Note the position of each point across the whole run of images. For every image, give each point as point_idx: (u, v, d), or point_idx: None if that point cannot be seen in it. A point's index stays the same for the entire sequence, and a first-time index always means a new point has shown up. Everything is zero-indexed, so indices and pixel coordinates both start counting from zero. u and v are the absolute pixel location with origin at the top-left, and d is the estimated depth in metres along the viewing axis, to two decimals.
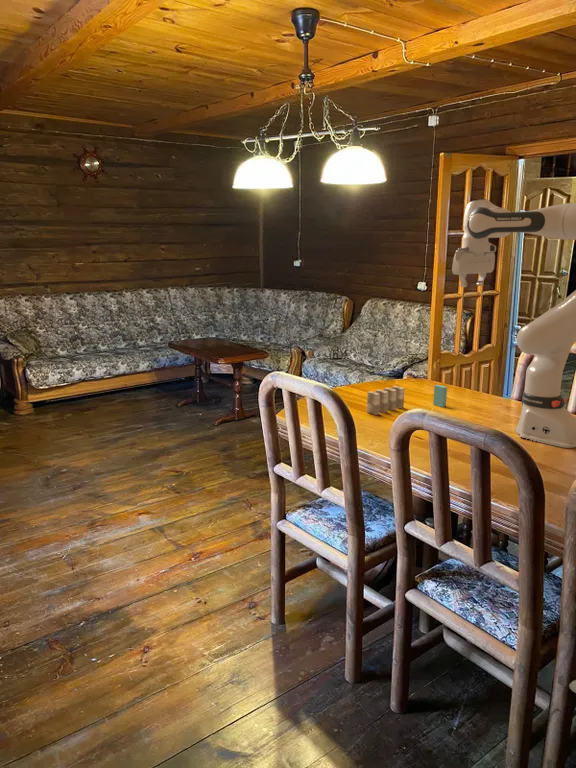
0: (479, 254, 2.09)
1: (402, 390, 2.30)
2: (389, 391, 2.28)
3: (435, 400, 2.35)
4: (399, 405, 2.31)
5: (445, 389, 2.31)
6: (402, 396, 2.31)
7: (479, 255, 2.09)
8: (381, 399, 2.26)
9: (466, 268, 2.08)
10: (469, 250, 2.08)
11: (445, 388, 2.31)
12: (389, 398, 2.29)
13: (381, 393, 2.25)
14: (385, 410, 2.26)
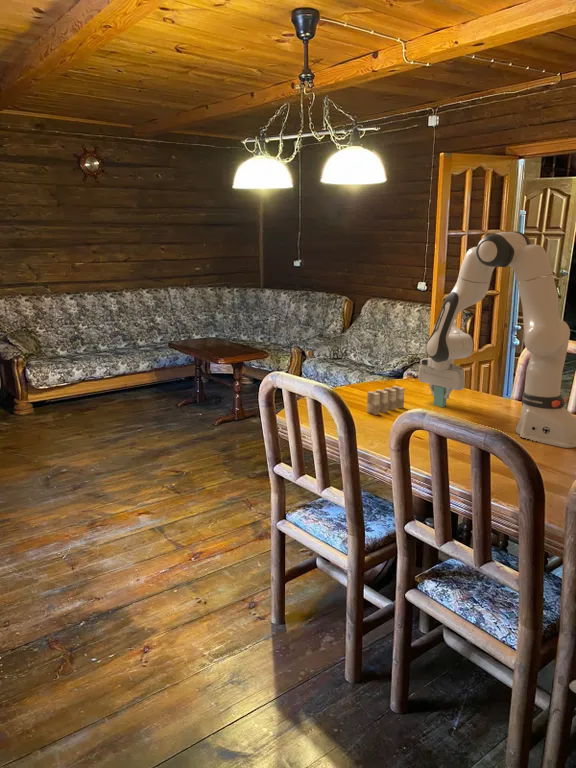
0: None
1: (402, 390, 2.30)
2: (389, 391, 2.28)
3: (435, 400, 2.35)
4: (399, 405, 2.31)
5: (445, 389, 2.31)
6: (402, 396, 2.31)
7: None
8: (381, 399, 2.26)
9: None
10: None
11: (445, 388, 2.31)
12: (389, 398, 2.29)
13: (381, 393, 2.25)
14: (385, 410, 2.26)
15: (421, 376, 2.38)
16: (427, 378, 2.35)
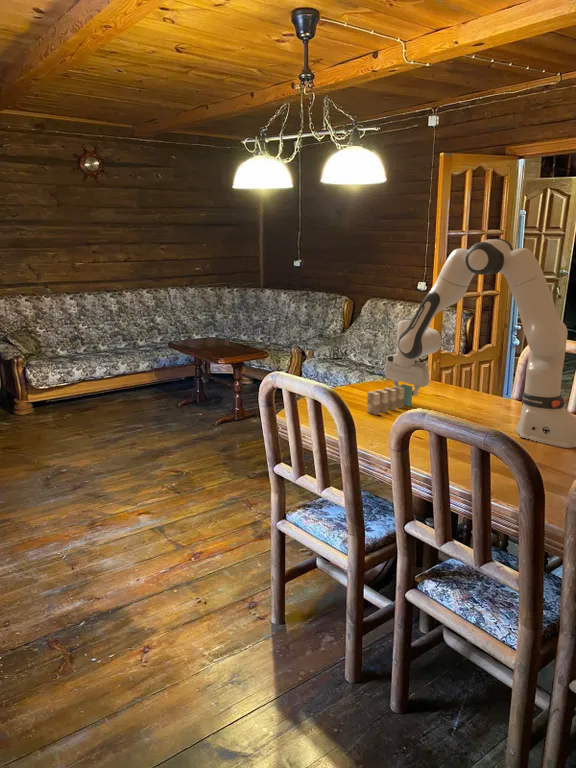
0: None
1: (402, 390, 2.30)
2: (389, 391, 2.28)
3: None
4: (399, 405, 2.31)
5: (410, 388, 2.33)
6: (402, 396, 2.31)
7: None
8: (381, 399, 2.26)
9: None
10: None
11: (410, 387, 2.32)
12: (389, 398, 2.29)
13: (381, 393, 2.25)
14: (385, 410, 2.26)
15: (388, 372, 2.38)
16: (393, 375, 2.36)
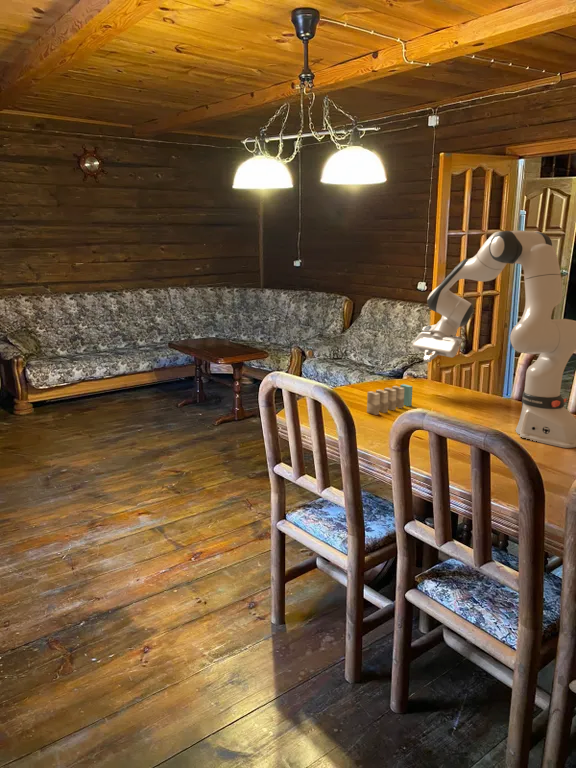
0: None
1: (402, 390, 2.30)
2: (389, 391, 2.28)
3: None
4: (399, 405, 2.31)
5: (410, 388, 2.33)
6: (402, 396, 2.31)
7: None
8: (381, 399, 2.26)
9: None
10: None
11: (410, 387, 2.32)
12: (389, 398, 2.29)
13: (381, 393, 2.25)
14: (385, 410, 2.26)
15: (417, 341, 2.46)
16: (422, 343, 2.43)
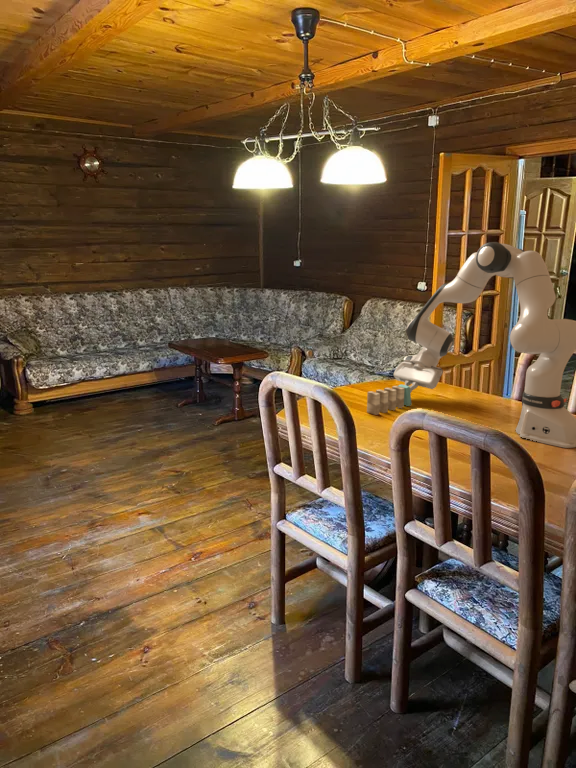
0: None
1: (402, 390, 2.30)
2: (389, 391, 2.28)
3: None
4: (399, 405, 2.31)
5: (408, 389, 2.32)
6: (402, 396, 2.31)
7: None
8: (381, 399, 2.26)
9: None
10: None
11: (408, 388, 2.32)
12: (389, 398, 2.29)
13: (381, 393, 2.25)
14: (385, 410, 2.26)
15: (398, 371, 2.42)
16: (403, 373, 2.40)
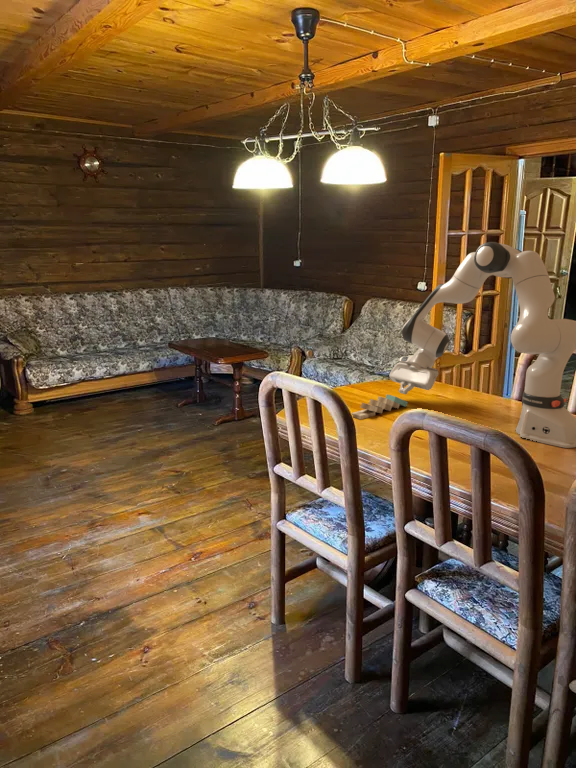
0: None
1: (387, 401, 2.26)
2: (375, 405, 2.24)
3: None
4: (395, 407, 2.30)
5: (396, 399, 2.29)
6: (391, 403, 2.28)
7: None
8: None
9: None
10: None
11: (395, 399, 2.29)
12: None
13: (367, 409, 2.21)
14: (381, 411, 2.24)
15: (394, 372, 2.40)
16: (398, 374, 2.38)
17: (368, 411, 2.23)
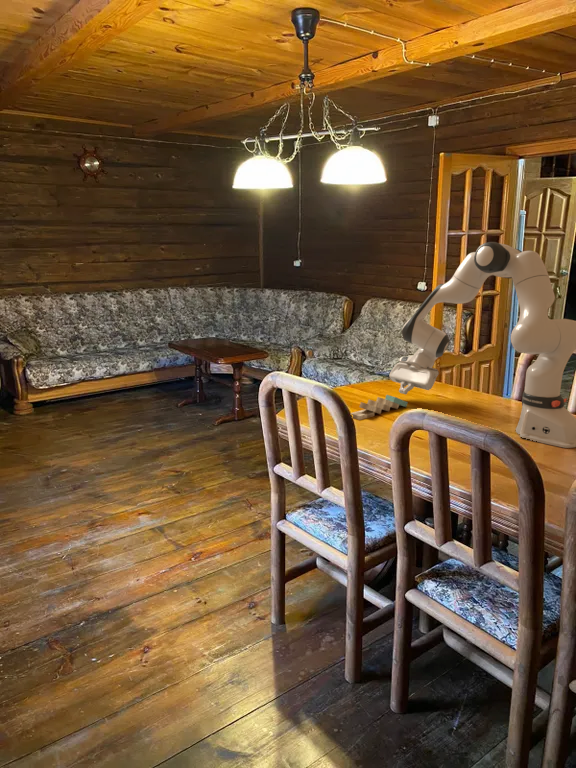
0: None
1: (386, 402, 2.26)
2: None
3: None
4: None
5: (395, 399, 2.29)
6: (390, 403, 2.27)
7: None
8: (370, 410, 2.21)
9: None
10: None
11: (395, 399, 2.28)
12: None
13: (366, 409, 2.20)
14: (379, 411, 2.24)
15: (394, 372, 2.40)
16: (398, 374, 2.38)
17: (367, 411, 2.22)
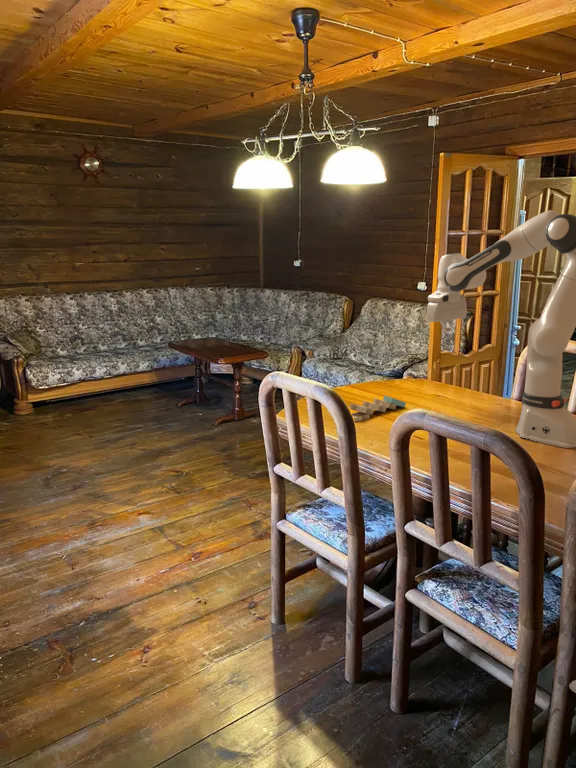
0: None
1: (383, 404, 2.25)
2: (368, 407, 2.23)
3: None
4: (392, 408, 2.29)
5: (393, 400, 2.28)
6: (387, 404, 2.27)
7: None
8: None
9: None
10: None
11: (392, 400, 2.28)
12: None
13: (356, 410, 2.17)
14: (371, 412, 2.20)
15: (437, 315, 2.24)
16: (442, 316, 2.26)
17: (362, 413, 2.20)
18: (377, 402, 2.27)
